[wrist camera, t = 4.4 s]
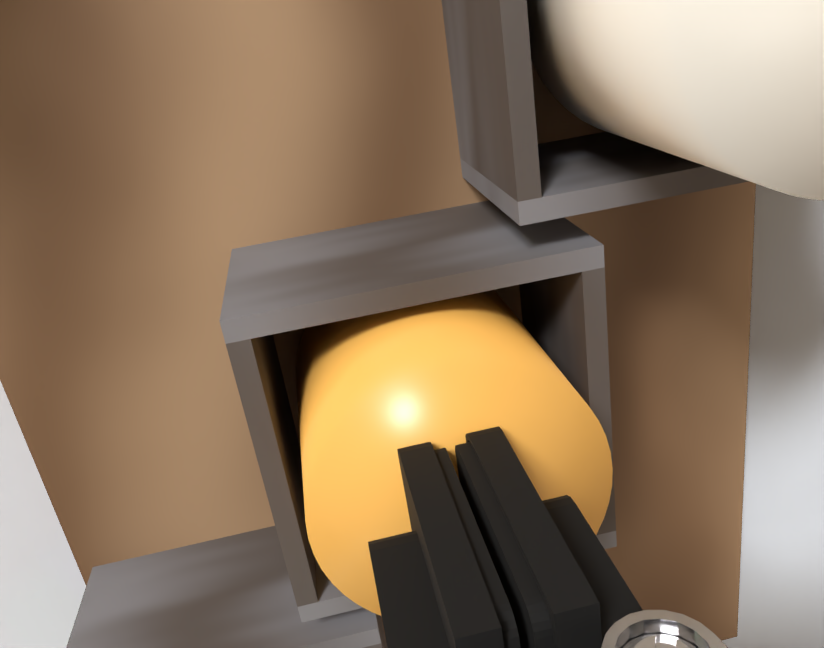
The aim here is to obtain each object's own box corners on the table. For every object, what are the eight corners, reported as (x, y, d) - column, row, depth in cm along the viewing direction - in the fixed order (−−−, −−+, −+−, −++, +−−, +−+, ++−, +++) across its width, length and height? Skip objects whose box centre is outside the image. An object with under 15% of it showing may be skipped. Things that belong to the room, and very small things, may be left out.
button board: (737, -292, 14) (966, -442, 10) (715, 607, 24) (826, 756, 19) (-194, -174, 13) (-473, -287, 8) (173, 745, 22) (147, 946, 17)
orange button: (509, 238, 16) (606, 329, 11) (529, 438, 18) (617, 586, 13) (272, 284, 15) (272, 399, 11) (320, 485, 17) (337, 655, 13)
